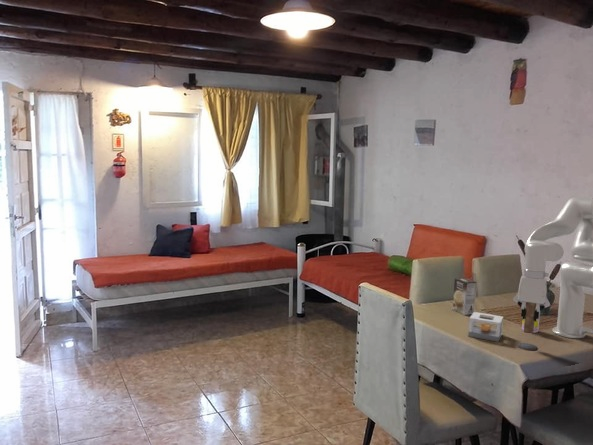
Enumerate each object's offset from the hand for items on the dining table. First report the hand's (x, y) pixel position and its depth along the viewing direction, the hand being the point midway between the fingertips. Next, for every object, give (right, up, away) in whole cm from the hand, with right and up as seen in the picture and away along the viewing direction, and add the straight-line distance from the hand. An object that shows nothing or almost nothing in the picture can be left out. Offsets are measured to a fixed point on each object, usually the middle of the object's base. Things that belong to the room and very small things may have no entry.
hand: (529, 319), depth 207 cm
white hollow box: (-13, -10, +14) cm, 21 cm away
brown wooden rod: (0, -5, 0) cm, 5 cm away
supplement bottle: (+10, -9, +22) cm, 26 cm away
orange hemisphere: (-13, -7, +14) cm, 20 cm away
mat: (0, -12, +2) cm, 12 cm away
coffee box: (-11, -5, +47) cm, 49 cm away
